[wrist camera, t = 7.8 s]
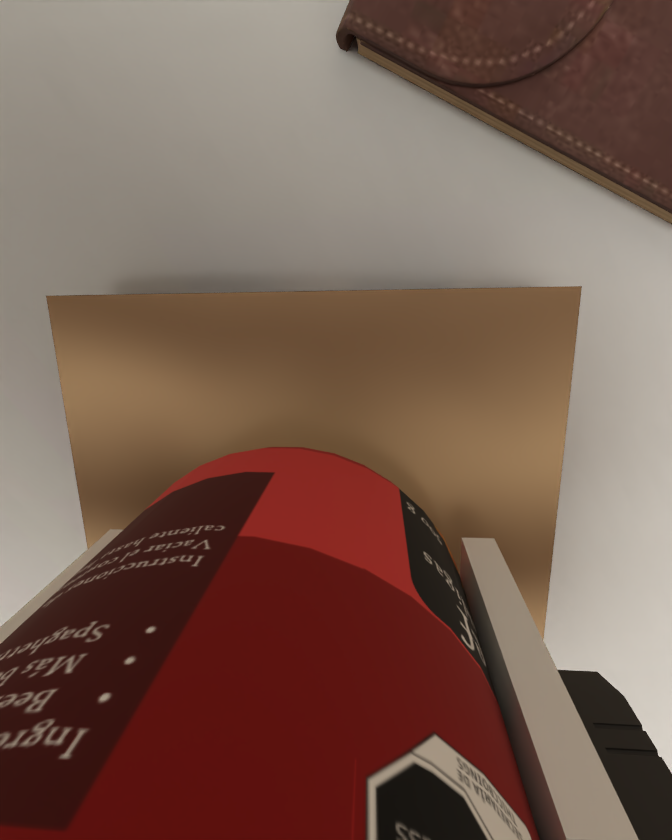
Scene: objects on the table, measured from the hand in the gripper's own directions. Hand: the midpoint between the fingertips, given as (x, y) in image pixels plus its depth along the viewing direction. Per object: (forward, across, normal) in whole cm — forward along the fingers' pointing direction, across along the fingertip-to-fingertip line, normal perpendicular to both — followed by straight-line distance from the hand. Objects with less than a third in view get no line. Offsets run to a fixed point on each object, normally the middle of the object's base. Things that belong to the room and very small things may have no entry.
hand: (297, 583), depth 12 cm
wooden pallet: (+5, 0, 0) cm, 5 cm away
